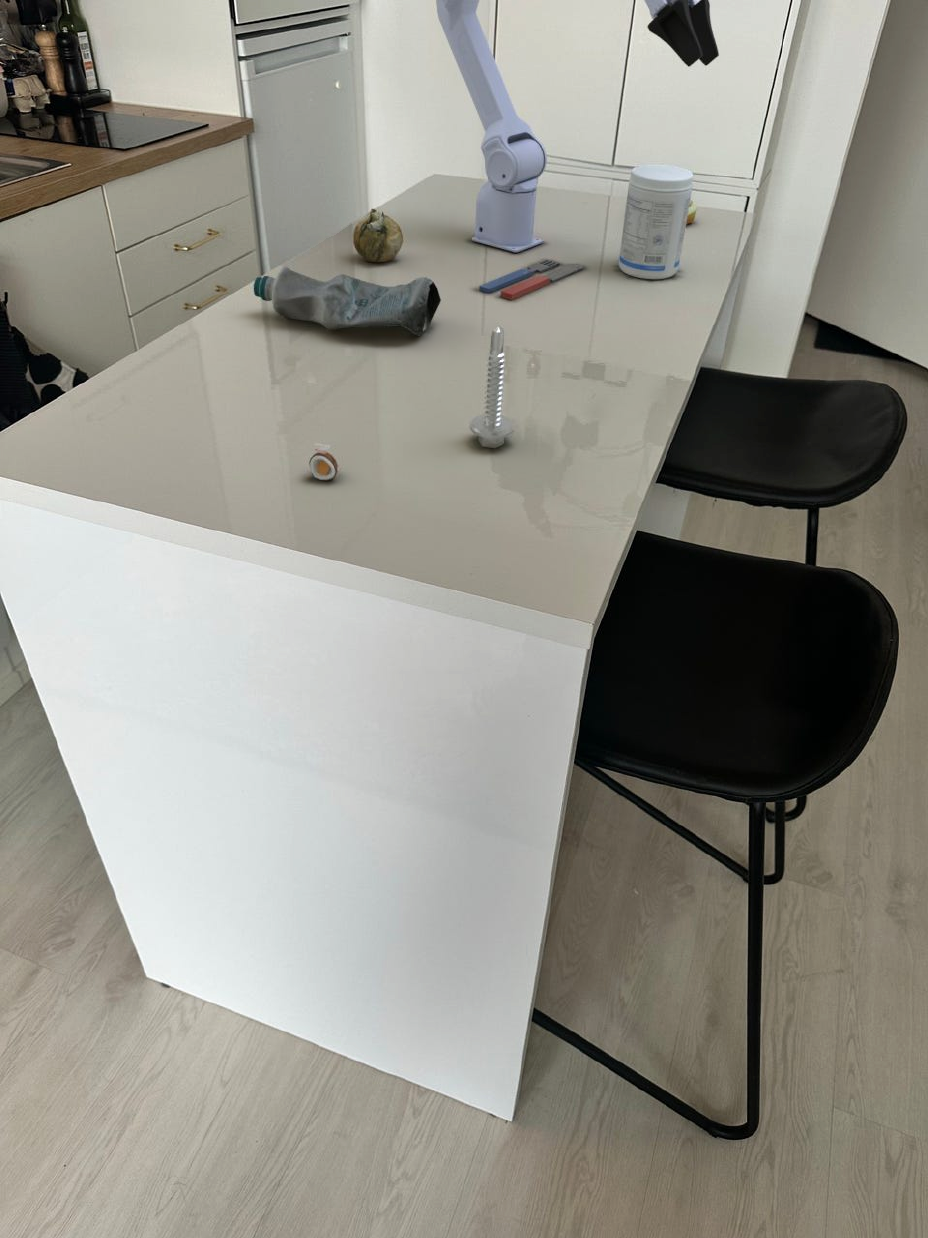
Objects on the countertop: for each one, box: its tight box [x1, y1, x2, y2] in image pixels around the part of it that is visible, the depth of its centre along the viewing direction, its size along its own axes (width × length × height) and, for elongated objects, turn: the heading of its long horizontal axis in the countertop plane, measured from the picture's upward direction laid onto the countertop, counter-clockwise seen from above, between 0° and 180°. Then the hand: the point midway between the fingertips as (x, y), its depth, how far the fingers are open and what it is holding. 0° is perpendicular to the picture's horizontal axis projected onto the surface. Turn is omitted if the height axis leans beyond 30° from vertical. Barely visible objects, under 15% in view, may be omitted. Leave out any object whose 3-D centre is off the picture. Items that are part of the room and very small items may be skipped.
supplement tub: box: [618, 163, 694, 280], centre depth 142 cm, size 10×10×15 cm
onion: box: [352, 208, 404, 263], centre depth 144 cm, size 8×8×8 cm
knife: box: [500, 263, 584, 301], centre depth 141 cm, size 20×2×1 cm, turn 142°
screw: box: [469, 325, 516, 449], centre depth 96 cm, size 13×5×5 cm
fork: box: [478, 258, 560, 294], centre depth 142 cm, size 18×2×1 cm, turn 142°
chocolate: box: [308, 440, 339, 481], centre depth 92 cm, size 3×2×4 cm
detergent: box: [253, 266, 442, 337], centre depth 123 cm, size 13×7×25 cm
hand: (704, 60), depth 125 cm, fingers open, 7 cm apart
